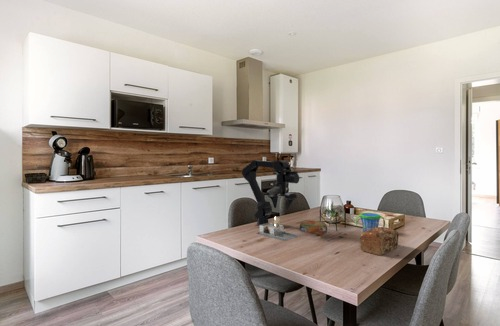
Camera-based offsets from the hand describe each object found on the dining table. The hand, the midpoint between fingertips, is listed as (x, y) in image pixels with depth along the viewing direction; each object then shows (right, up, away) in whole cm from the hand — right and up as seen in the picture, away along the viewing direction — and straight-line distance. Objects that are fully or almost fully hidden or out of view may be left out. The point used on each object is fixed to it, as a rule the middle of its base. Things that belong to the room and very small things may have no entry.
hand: (280, 209), depth 165 cm
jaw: (-3, -12, -11) cm, 16 cm away
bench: (-3, -13, -12) cm, 18 cm away
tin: (+17, -13, -8) cm, 23 cm away
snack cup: (+51, -13, -1) cm, 53 cm away
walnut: (-6, -12, -9) cm, 16 cm away
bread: (+43, -14, -31) cm, 55 cm away
